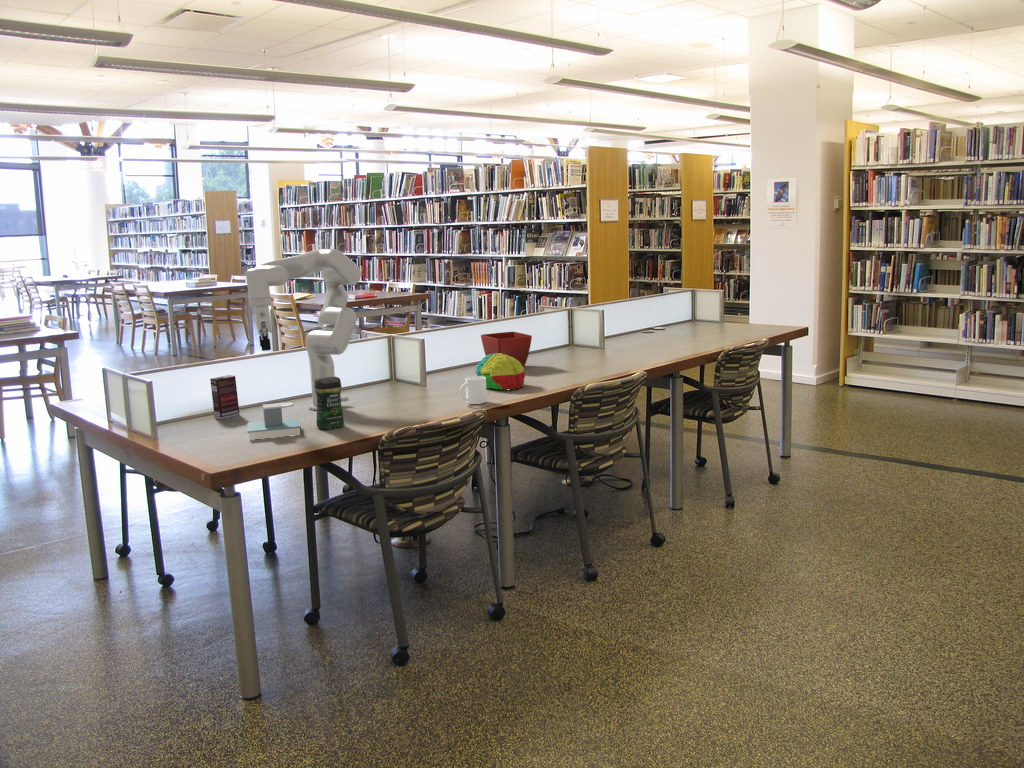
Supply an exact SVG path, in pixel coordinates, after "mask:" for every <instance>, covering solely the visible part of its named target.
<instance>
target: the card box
mask: <svg viewBox="0 0 1024 768" xmlns="http://www.w3.org/2000/svg"><path fill="white" fill-rule="evenodd" d="M282 408H283V406H282V403H281V402H278V403H267V404H266V403H264V404H262V410H263V420H264V421H263V422H264V424H265V427H275V426H283V421H282V420H283V412H282V411H283V409H282Z"/></svg>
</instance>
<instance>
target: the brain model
mask: <svg viewBox="0 0 1024 768" xmlns="http://www.w3.org/2000/svg"><path fill="white" fill-rule="evenodd" d="M524 368H525V367H524ZM524 368H523V366H522V365H521V363H520V362H519V361H518V360H516V359H514V358H513V357H509V356H508V355H503V354H502V353H496V354H490V355H487V356H486V355H485V356H484V357H483V358H482V359H481V360H480V361H479V362H478V364H477V366H476V370H475V374H476V376H483V377H486V389H492V390H498V389H500V390H499V391H508V390H507V389H515V390H517V389H516V388H518V389H521V388H522V387H523V386H524V384H525V378H526V371H525V369H524ZM520 387H521V388H520ZM503 389H504V390H503Z"/></svg>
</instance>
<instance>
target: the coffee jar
mask: <svg viewBox="0 0 1024 768" xmlns="http://www.w3.org/2000/svg"><path fill="white" fill-rule="evenodd" d="M342 387H343V386H342V381H341V378H339V377H337V376H335V377H326V378H319V379H315V385H314V390H315V392H316V395H317V410H316V428H318V429H319V428H320V429H319V430H322V429H323V430H330V429H329V428H334V429H336V428H335V427H339V428H341V427H340V426H342V427H343V426H344V425H345V420H344V414H343V413H344V412H343V408H342V402H341V399H340V397H341V392H342V389H343V388H342Z"/></svg>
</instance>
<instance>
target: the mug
mask: <svg viewBox="0 0 1024 768" xmlns="http://www.w3.org/2000/svg"><path fill="white" fill-rule="evenodd" d="M464 389H465V395H466V396H464ZM487 395H488V394H487V388H486V377H483V376H477V375H472V376H466V377H465V382H464V383H463V384H462V385H461V386H460V388H459V396H460V398H461V400H462V401H466V404H468V405H470V404H480V403H484V402H486V401H488V398H487ZM486 403H487V402H486Z"/></svg>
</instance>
